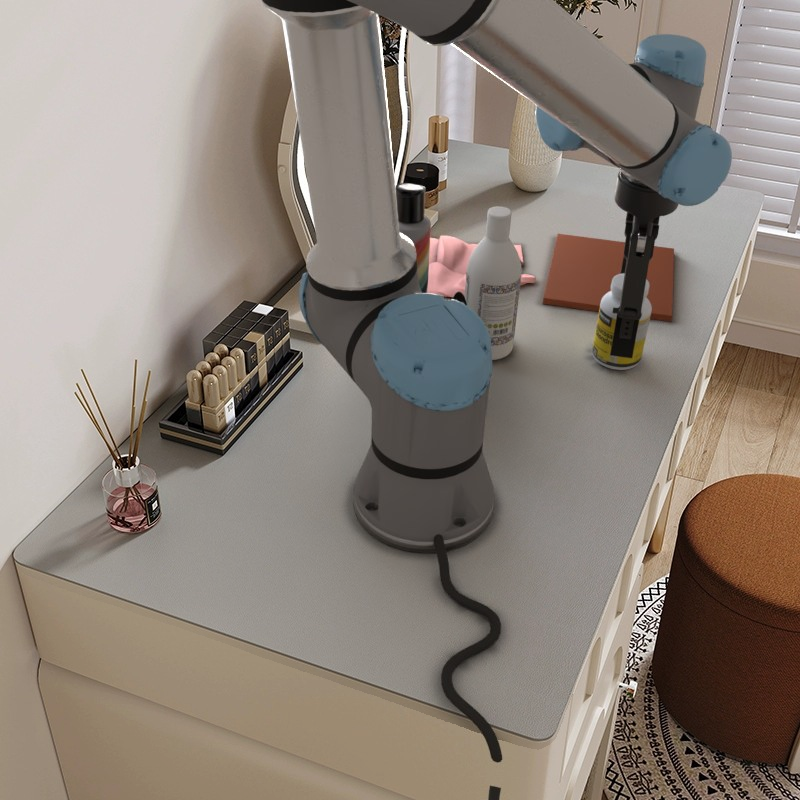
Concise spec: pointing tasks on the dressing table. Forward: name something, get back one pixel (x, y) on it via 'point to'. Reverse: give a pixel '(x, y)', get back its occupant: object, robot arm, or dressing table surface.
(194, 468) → the dressing table surface
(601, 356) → the pill bottle
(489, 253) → the bath foam
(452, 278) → the cloth
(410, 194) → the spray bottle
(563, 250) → the mat
